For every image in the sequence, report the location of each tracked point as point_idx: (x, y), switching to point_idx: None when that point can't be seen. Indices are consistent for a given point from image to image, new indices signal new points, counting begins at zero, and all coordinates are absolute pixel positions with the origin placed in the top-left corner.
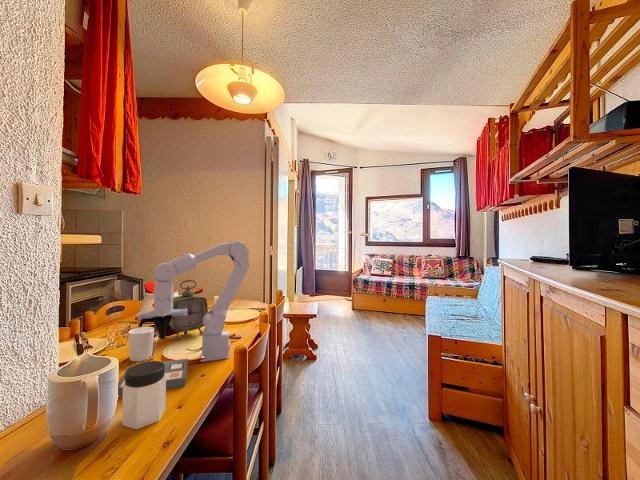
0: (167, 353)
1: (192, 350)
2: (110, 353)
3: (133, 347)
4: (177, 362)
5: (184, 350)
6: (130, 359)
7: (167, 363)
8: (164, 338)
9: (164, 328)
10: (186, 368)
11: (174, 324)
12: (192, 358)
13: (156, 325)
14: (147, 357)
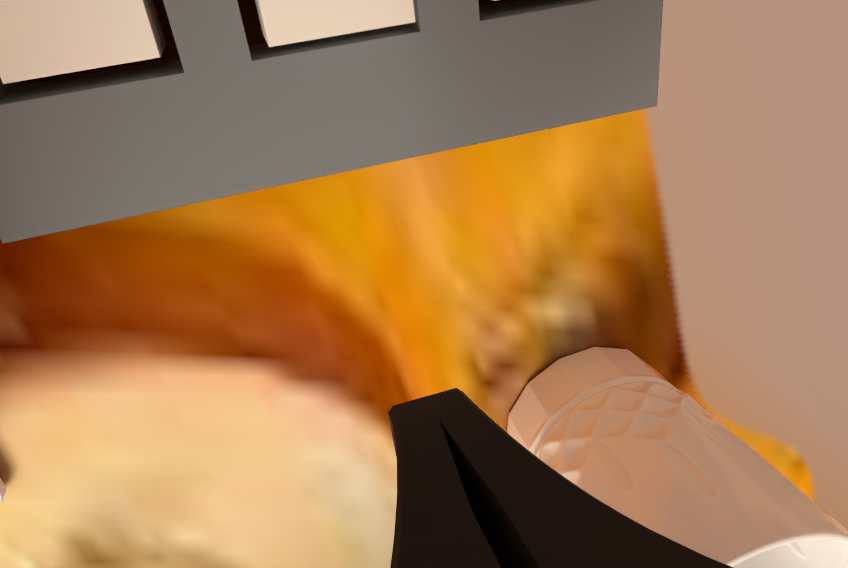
0: (385, 487)
1: (157, 553)
2: (786, 474)
3: (706, 419)
4: (104, 129)
5: (243, 547)
6: (652, 367)
7: (239, 116)
8: (393, 412)
9: (451, 547)
10: None
11: None
12: (65, 389)
13: (687, 559)
14: (530, 394)
